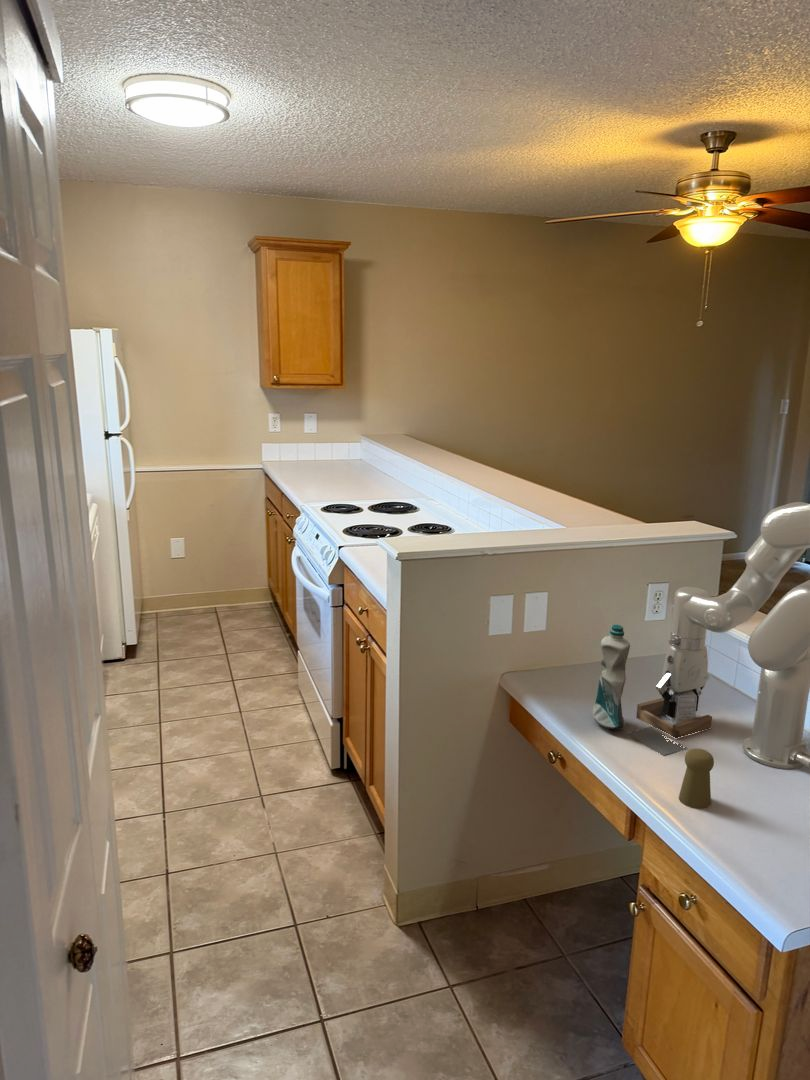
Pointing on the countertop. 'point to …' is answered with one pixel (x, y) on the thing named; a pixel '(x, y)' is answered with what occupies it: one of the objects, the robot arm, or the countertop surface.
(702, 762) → the olive pawn figure
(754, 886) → the countertop surface
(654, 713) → the frame
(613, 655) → the detergent
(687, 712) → the medicine box
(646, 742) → the stand pad
